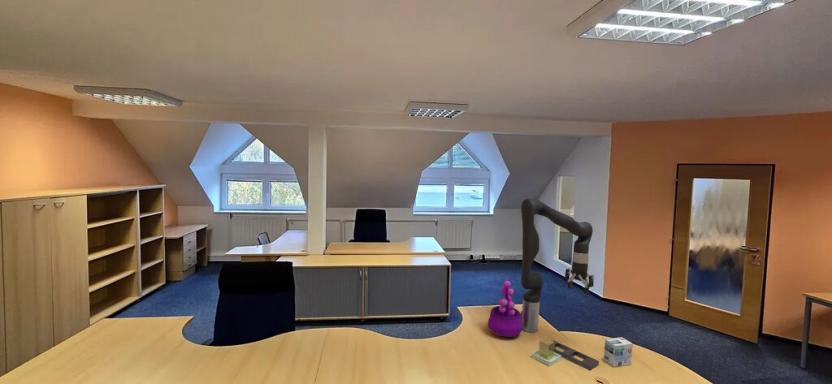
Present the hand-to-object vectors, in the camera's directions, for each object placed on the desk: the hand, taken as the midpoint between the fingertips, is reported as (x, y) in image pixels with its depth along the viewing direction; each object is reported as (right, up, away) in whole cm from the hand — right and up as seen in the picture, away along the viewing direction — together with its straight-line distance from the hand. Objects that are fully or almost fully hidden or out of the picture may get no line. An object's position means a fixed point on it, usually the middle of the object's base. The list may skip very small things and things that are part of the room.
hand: (577, 291), depth 190 cm
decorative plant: (-34, -28, +17) cm, 47 cm away
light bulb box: (+14, -32, -10) cm, 37 cm away
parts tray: (-20, -31, -9) cm, 37 cm away
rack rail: (-6, -31, -6) cm, 32 cm away
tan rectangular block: (-20, -30, -9) cm, 37 cm away
